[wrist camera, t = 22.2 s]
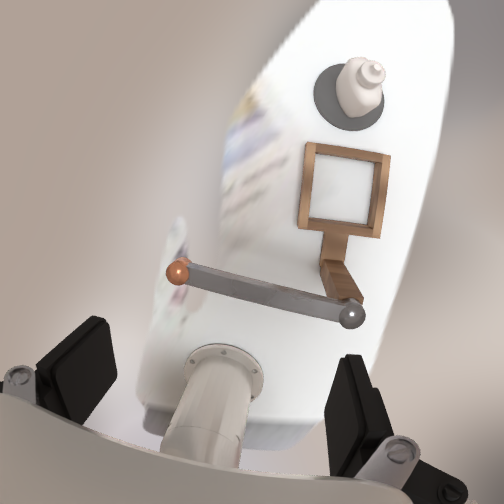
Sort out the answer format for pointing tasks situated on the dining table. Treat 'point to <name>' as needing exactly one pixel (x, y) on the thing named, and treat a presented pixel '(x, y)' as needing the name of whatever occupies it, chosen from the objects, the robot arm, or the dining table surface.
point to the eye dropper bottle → (360, 86)
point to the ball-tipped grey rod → (266, 293)
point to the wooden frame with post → (337, 232)
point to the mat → (331, 107)
